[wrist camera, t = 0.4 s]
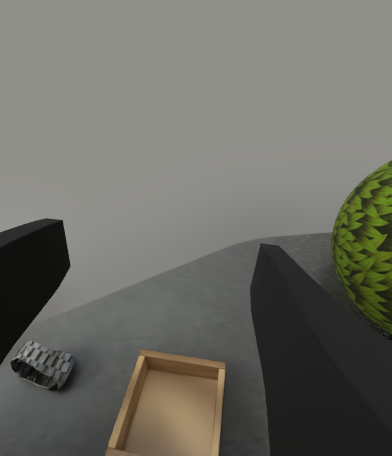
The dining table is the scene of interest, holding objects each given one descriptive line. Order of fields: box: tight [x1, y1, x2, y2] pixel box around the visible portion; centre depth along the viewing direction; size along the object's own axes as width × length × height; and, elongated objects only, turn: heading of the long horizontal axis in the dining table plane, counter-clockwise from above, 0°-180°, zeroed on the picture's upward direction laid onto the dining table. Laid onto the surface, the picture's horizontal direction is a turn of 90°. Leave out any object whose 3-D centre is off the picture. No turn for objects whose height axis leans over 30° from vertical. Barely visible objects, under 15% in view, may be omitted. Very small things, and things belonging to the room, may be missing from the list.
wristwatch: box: [11, 341, 76, 391], centre depth 26 cm, size 3×5×5 cm
